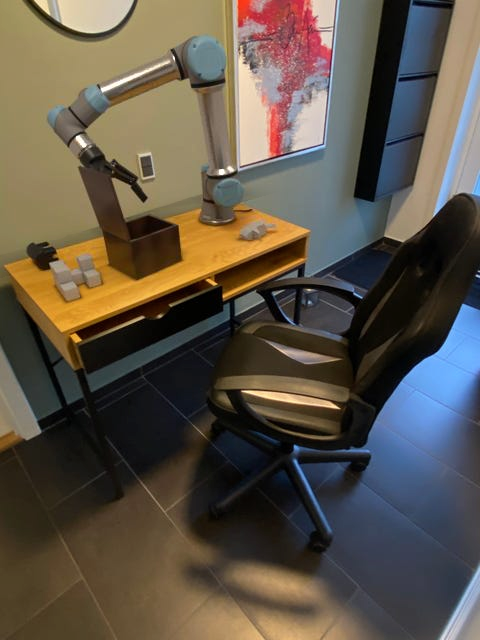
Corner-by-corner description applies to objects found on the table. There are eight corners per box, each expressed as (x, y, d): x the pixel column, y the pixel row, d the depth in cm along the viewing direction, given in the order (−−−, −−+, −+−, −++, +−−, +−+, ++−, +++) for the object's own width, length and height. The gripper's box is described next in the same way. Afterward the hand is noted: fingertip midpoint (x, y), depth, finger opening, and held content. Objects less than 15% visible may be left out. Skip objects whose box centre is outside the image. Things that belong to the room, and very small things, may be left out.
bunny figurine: (233, 227, 153) (261, 213, 160) (235, 239, 156) (261, 225, 163) (251, 234, 147) (278, 219, 154) (251, 246, 150) (278, 231, 158)
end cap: (29, 262, 138) (23, 244, 134) (50, 256, 142) (45, 238, 138) (39, 272, 132) (33, 254, 128) (61, 266, 136) (55, 247, 132)
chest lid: (80, 165, 116) (77, 166, 115) (110, 175, 107) (107, 176, 106) (102, 226, 129) (100, 228, 128) (131, 240, 120) (128, 241, 119)
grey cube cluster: (67, 301, 117) (60, 278, 112) (55, 285, 125) (48, 262, 120) (106, 289, 122) (101, 266, 118) (93, 274, 130) (88, 252, 126)
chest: (153, 247, 148) (149, 213, 140) (182, 260, 139) (178, 224, 131) (109, 264, 136) (101, 229, 129) (136, 280, 127) (130, 242, 120)
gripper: (110, 153, 138) (150, 202, 141) (53, 170, 120) (101, 225, 123) (119, 138, 133) (161, 189, 136) (61, 153, 115) (110, 211, 118)
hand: (132, 206), depth 130 cm, fingers open, 13 cm apart
